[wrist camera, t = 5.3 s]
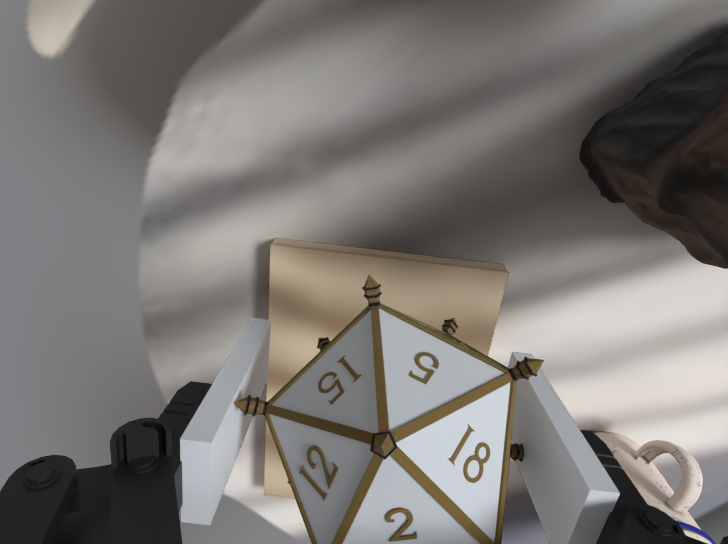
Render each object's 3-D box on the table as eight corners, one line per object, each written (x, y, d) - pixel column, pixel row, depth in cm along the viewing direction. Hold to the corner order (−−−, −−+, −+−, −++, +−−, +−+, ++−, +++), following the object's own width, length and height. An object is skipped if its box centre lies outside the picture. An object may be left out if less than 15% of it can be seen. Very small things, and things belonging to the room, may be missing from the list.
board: (275, 238, 31) (270, 245, 29) (503, 264, 31) (508, 272, 29) (268, 480, 40) (263, 495, 38) (445, 501, 39) (447, 517, 38)
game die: (431, 316, 21) (640, 490, 14) (298, 448, 20) (450, 703, 13) (346, 184, 14) (658, 385, 7) (143, 369, 13) (282, 795, 7)
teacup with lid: (607, 520, 39) (691, 681, 29) (517, 488, 38) (569, 642, 28) (695, 424, 35) (833, 571, 24) (596, 385, 34) (693, 520, 23)
